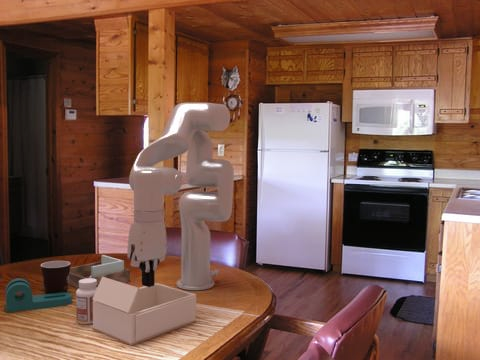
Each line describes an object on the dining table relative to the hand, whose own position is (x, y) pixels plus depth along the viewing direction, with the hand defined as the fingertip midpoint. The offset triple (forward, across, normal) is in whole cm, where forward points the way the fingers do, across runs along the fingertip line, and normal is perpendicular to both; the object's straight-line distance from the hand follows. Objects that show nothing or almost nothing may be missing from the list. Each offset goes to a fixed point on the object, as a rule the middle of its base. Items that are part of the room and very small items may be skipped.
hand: (148, 285), depth 139 cm
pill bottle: (+11, +9, -14) cm, 20 cm away
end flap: (+3, +12, 0) cm, 12 cm away
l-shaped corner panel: (+11, -15, -43) cm, 46 cm away
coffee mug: (+11, +2, -40) cm, 42 cm away
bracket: (+11, +11, -35) cm, 38 cm away
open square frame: (+10, -14, -44) cm, 47 cm away
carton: (+11, +1, 0) cm, 11 cm away
